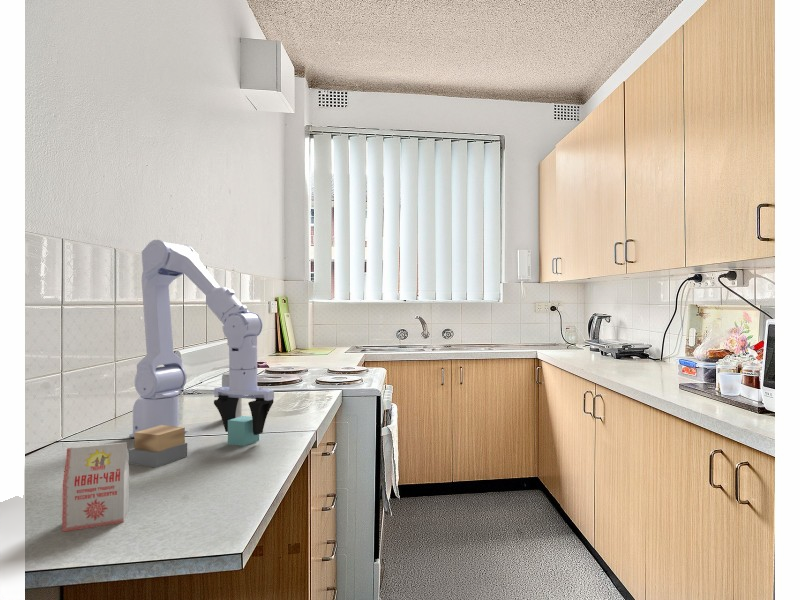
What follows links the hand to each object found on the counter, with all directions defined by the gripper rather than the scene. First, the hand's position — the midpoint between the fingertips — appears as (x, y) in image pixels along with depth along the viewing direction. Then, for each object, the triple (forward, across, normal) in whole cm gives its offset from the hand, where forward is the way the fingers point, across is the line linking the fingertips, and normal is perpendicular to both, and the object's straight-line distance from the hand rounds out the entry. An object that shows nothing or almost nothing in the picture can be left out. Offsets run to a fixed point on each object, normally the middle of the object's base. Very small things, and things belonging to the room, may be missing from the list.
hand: (243, 432), depth 99 cm
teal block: (+2, 0, 0) cm, 2 cm away
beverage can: (+2, +18, -16) cm, 24 cm away
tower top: (0, +7, +15) cm, 16 cm away
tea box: (+2, -8, +37) cm, 38 cm away
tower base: (+2, +7, +15) cm, 17 cm away
